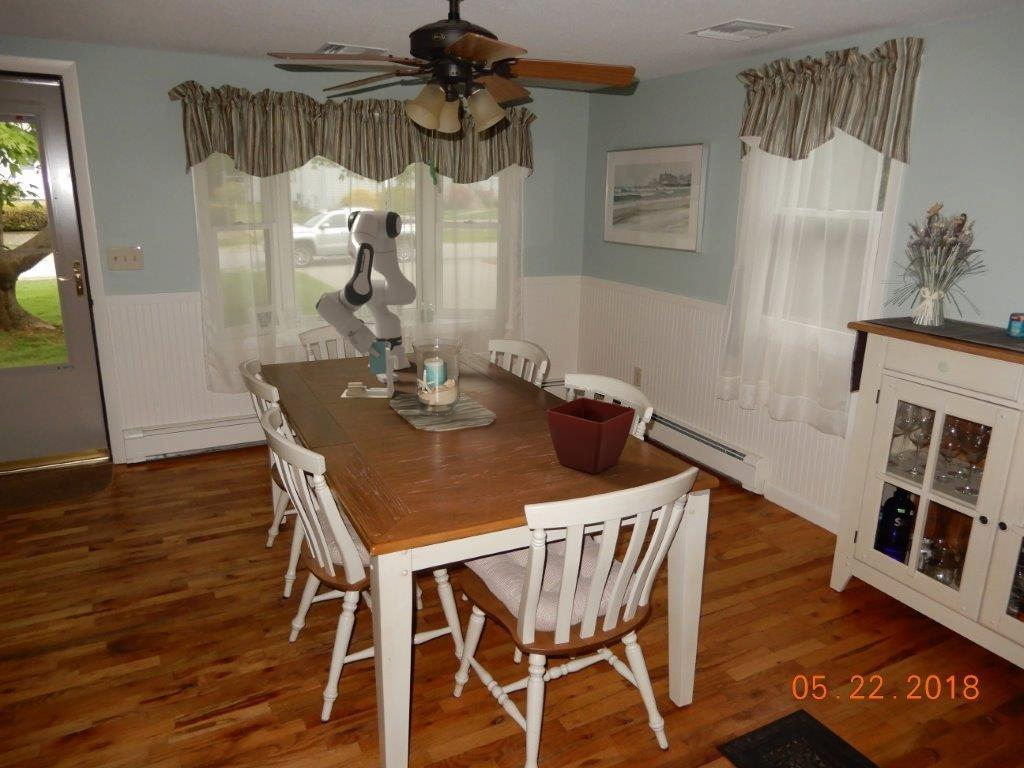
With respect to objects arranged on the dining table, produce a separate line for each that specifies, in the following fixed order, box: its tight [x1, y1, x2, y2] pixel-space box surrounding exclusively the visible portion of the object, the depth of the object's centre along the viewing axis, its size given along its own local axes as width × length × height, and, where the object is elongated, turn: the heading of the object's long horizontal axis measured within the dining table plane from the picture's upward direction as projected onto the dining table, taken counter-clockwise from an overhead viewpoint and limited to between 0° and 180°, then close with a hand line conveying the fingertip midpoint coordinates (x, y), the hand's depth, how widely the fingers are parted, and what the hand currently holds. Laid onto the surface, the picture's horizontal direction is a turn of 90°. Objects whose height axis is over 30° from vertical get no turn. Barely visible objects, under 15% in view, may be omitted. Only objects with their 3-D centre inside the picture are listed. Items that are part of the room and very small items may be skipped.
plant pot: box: [546, 397, 636, 475], centre depth 209 cm, size 19×19×17 cm
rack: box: [340, 356, 395, 399], centre depth 272 cm, size 11×19×15 cm, turn 92°
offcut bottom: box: [345, 385, 368, 396], centre depth 273 cm, size 8×6×2 cm
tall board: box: [368, 341, 387, 375], centre depth 270 cm, size 2×6×12 cm, turn 92°
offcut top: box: [347, 381, 363, 392], centre depth 272 cm, size 6×5×2 cm
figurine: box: [375, 348, 400, 384], centre depth 291 cm, size 7×9×15 cm
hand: (379, 354), depth 270 cm, fingers closed on tall board, 2 cm apart
